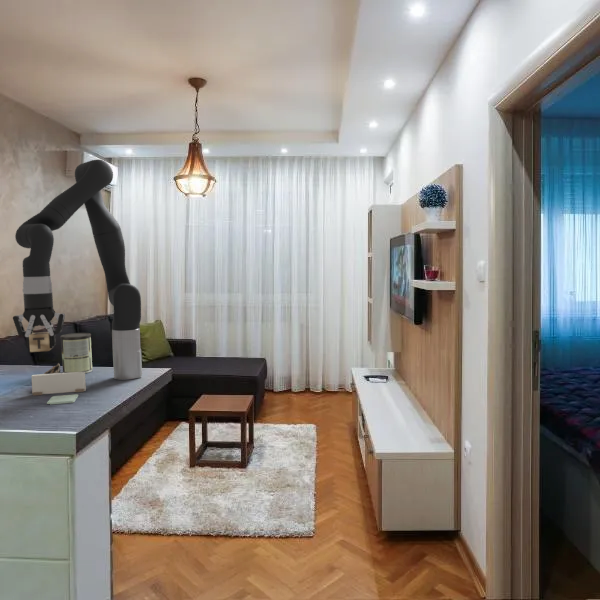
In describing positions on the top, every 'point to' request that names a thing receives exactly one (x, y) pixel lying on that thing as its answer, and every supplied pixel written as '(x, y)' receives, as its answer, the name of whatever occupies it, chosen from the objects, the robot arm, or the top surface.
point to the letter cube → (39, 342)
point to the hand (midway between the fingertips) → (41, 348)
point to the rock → (54, 370)
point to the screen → (58, 383)
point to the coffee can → (76, 352)
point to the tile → (63, 399)
